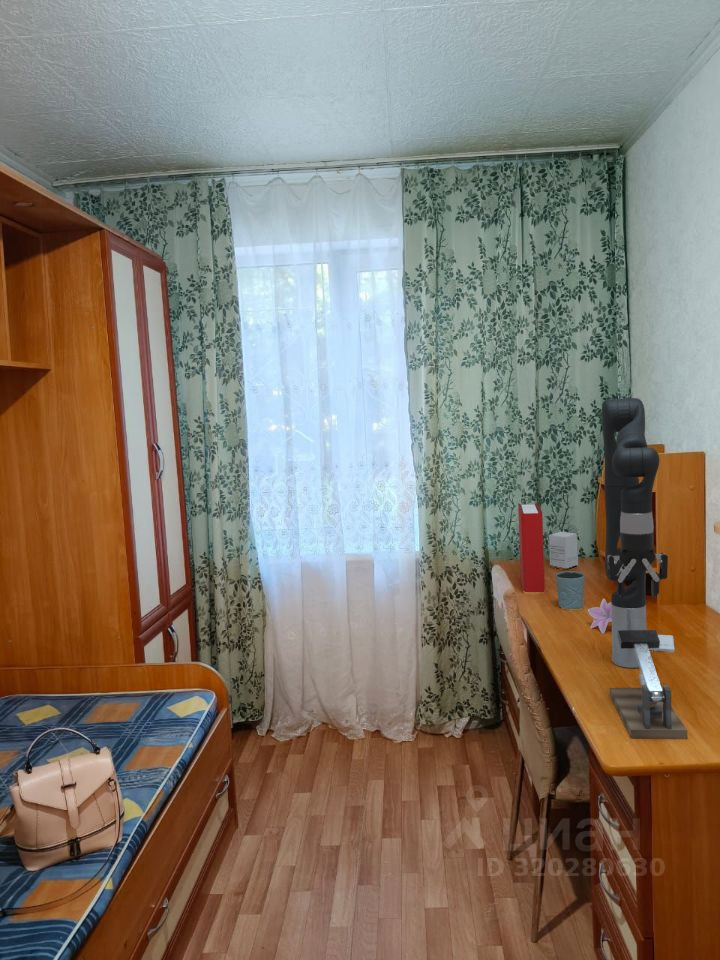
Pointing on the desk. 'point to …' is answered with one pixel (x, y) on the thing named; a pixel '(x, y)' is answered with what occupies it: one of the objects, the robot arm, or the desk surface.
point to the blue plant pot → (570, 589)
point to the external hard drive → (665, 643)
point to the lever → (644, 658)
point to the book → (531, 547)
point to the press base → (647, 714)
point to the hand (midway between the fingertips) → (637, 596)
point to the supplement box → (563, 549)
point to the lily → (601, 615)
